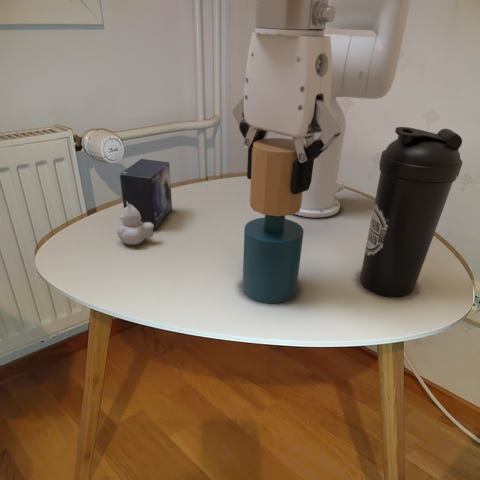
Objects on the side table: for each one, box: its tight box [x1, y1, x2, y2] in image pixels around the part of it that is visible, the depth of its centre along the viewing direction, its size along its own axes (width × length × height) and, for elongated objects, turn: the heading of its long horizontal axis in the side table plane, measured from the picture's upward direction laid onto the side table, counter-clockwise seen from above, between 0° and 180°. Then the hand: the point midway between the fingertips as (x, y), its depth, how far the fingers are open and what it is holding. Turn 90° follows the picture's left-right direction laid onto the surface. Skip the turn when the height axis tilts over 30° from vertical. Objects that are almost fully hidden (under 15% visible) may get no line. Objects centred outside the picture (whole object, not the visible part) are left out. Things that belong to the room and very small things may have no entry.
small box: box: [119, 158, 173, 231], centre depth 82 cm, size 11×6×10 cm, turn 168°
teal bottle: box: [242, 215, 305, 304], centre depth 60 cm, size 8×8×16 cm
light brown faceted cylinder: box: [249, 137, 307, 217], centre depth 55 cm, size 7×7×8 cm
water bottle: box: [359, 126, 463, 299], centre depth 61 cm, size 10×10×23 cm
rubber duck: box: [116, 201, 154, 246], centre depth 74 cm, size 5×7×8 cm
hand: (277, 183), depth 55 cm, fingers closed on light brown faceted cylinder, 6 cm apart
